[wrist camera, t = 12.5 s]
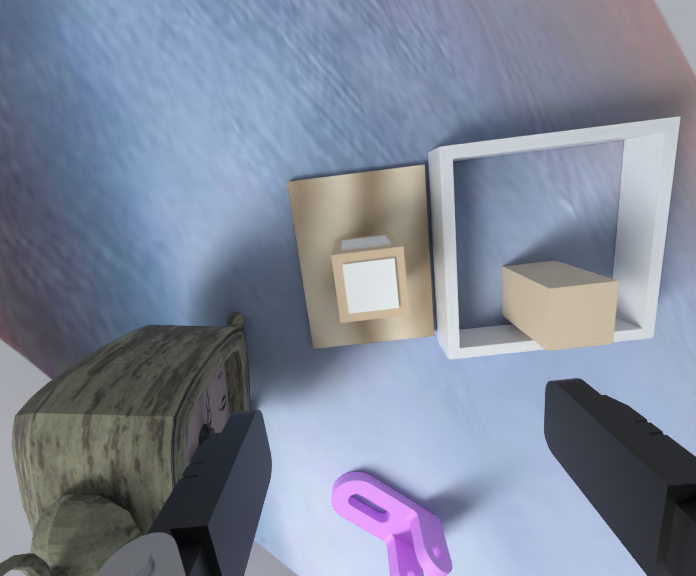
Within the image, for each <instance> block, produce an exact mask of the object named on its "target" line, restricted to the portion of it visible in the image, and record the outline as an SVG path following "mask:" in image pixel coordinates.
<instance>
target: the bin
mask: <svg viewBox="0 0 696 576" xmlns="http://www.w3.org/2000/svg"><path fill="white" fill-rule="evenodd" d="M680 117H681V116H679V117H671V118H663V119H655V120H647V121H639V122H631V123H623V124H615V125H607V126H599V127H591V128H583V129H576V130H568V131H560V132H552V133H544V134H536V135H528V136H520V137H512V138H504V139H496V140H488V141H480V142H472V143H465V144H457V145H449V146H441V147H438V148H436V149H434V150H432V151H430V152H428V168H429V186H430V205H431V223H432V242H433V260H434V279H435V297H436V316H437V334H438V342H439V344H440V346H441V347H442V349H443V351H444V352H445V354H446V356H447V357H448V359H449V360H450V359H459V358H469V357H478V356H488V355H497V354H506V353H516V352H525V351H535V350H544V348H543V347H541V346H540V345H539V344H538V343H536V342H535V341H534V340H533V339H531V338H530V337H529V336H528V335H526V334H525V333H524V332H523V331H521V330H520V329H519V328H518V327H516V326H515V325H514V324H507V325H498V326H489V327H480V328H471V329H461V330H459V314H458V287H457V259H456V231H455V204H454V176H453V161H461V160H469V159H477V158H485V157H493V156H501V155H509V154H517V153H525V152H533V151H541V150H549V149H557V148H565V147H573V146H582V145H590V144H598V143H606V142H614V141H622V140H625V141H624V152H623V164H622V175H621V187H620V199H619V210H618V222H617V234H616V245H615V257H614V268H613V279H614V280H618V281H619V285H618V296H617V306H616V317H615V328H614V339H613V342H619V341H629V340H638V339H647V338H653V335H654V327H655V319H656V311H657V303H658V295H659V287H660V279H661V271H662V262H663V254H664V246H665V238H666V230H667V222H668V214H669V206H670V198H671V190H672V182H673V174H674V165H675V157H676V149H677V141H678V133H679V125H680Z"/></svg>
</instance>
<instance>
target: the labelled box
mask: <svg viewBox="0 0 696 576" xmlns="http://www.w3.org/2000/svg"><path fill="white" fill-rule="evenodd" d="M331 259H332V266H333V273H334V280H335V287H336V294H337V301H338V309H339V316H340V323H345V322H353V321H362V320H370V319H379V318H387V317H396V316H404V315H409V306H408V294H407V282H406V270H405V258H404V246H403V245H402V244H401V243H400V242H399V241H397V240H396V239H395V238H394V237H393V236H392V235H391V234H390V233H388V234H380V235H372V236H364V237H356V238H348V239H340V240H335V243H334V247H333V250H332V254H331Z"/></svg>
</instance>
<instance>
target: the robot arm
mask: <svg viewBox="0 0 696 576" xmlns="http://www.w3.org/2000/svg"><path fill="white" fill-rule="evenodd" d="M544 434H545V438H546V442H547V444H548V447H549V449H550V451H551V452H552V454H553V455H554V457H555V458H556V459H557V460H558V462H559V463H560V464H561V466H562V467H563V468H564V469H565V471H566V472H567V473H568V474H569V476H570V477H571V478H572V480H573V481H574V482H575V483H576V485H577V486H578V487H579V489H580V490H581V491H582V492H583V494H584V495H585V496H586V498H587V499H588V500H589V501H590V503H591V504H592V505H593V507H594V508H595V509H596V510H597V512H598V513H599V514H600V516H601V517H602V518H603V519H604V521H605V522H606V523H607V525H608V526H609V527H610V528H611V530H612V531H613V532H614V534H615V535H616V536H617V537H618V539H619V540H620V541H621V543H622V544H623V545H624V546H625V548H626V549H627V550H628V552H629V553H630V554H631V555H632V557H633V558H634V559H635V561H636V562H637V563H638V564H639V566H640V567H641V568H642V570H643V571H644V572H645V573H646V575H647V576H696V457H695V456H694V455H693V454H691V453H690V452H689V451H687V450H686V449H685V448H683V447H682V446H681V445H679V444H678V443H677V442H675V441H674V440H673V439H672V438H670V437H669V436H668V435H664V434H663V432H662V431H661V430H660V429H658V428H657V427H656V426H654V425H653V424H652V423H648V422H647V419H645V418H644V417H643V416H641V415H640V414H639V413H637V412H636V411H635V410H633V409H632V408H631V407H630V406H628V405H626V404H624V403H622V402H619V401H617V400H615V399H613V398H611V397H609V396H607V395H601V394H599V393H598V392H597V391H596V390H594V389H593V388H592V387H591V386H589V385H588V384H587V383H586V382H584V381H583V380H582V379H579V378H575V379H565V380H555V381H549V382H548V383H547V385H546V390H545V416H544ZM271 471H272V459H271V452H270V448H269V443H268V438H267V433H266V429H265V424H264V419H263V415H262V413H261V411H260V410H252V411H243V412H233V413H232V414H231V415H230V417H229V419H228V421H227V423H226V425H225V426H224V428H223V430H222V432H220V433H213V434H212V435H211V436H210V437H209V438H208V439H207V440H205V441H204V442H203V443H202V444H201V445H200V446H199V447H198V448H197V450H196V452H195V453H194V455H193V457H192V458H191V460H190V462H189V466H187V467H186V469H185V470H184V472H183V474H182V475H181V480H178V482H177V484H176V485H175V487H174V489H173V490H172V492H171V494H170V496H169V497H168V499H167V501H166V502H165V504H164V506H163V507H162V509H161V511H160V512H159V514H158V516H157V517H156V519H155V521H154V523H153V524H152V526H151V528H150V529H149V531H148V533H147V534H146V535H144V536H141V537H139V538H137V539H135V540H133V541H131V542H129V543H128V544H126V545H125V546H123V547H122V548H121V549H119V550H118V551H117V552H116V553H114V554H113V555H112V556H111V557H110V558H109V559H108V560H107V561H106V562H105V563H104V565H103V566H102V567H101V569H100V570H99V571H98V573H97V574H96V576H244V573H245V570H246V566H247V563H248V559H249V555H250V551H251V548H252V544H253V541H254V537H255V533H256V530H257V526H258V523H259V519H260V515H261V512H262V508H263V504H264V501H265V497H266V493H267V490H268V486H269V483H270V479H271Z"/></svg>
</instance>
